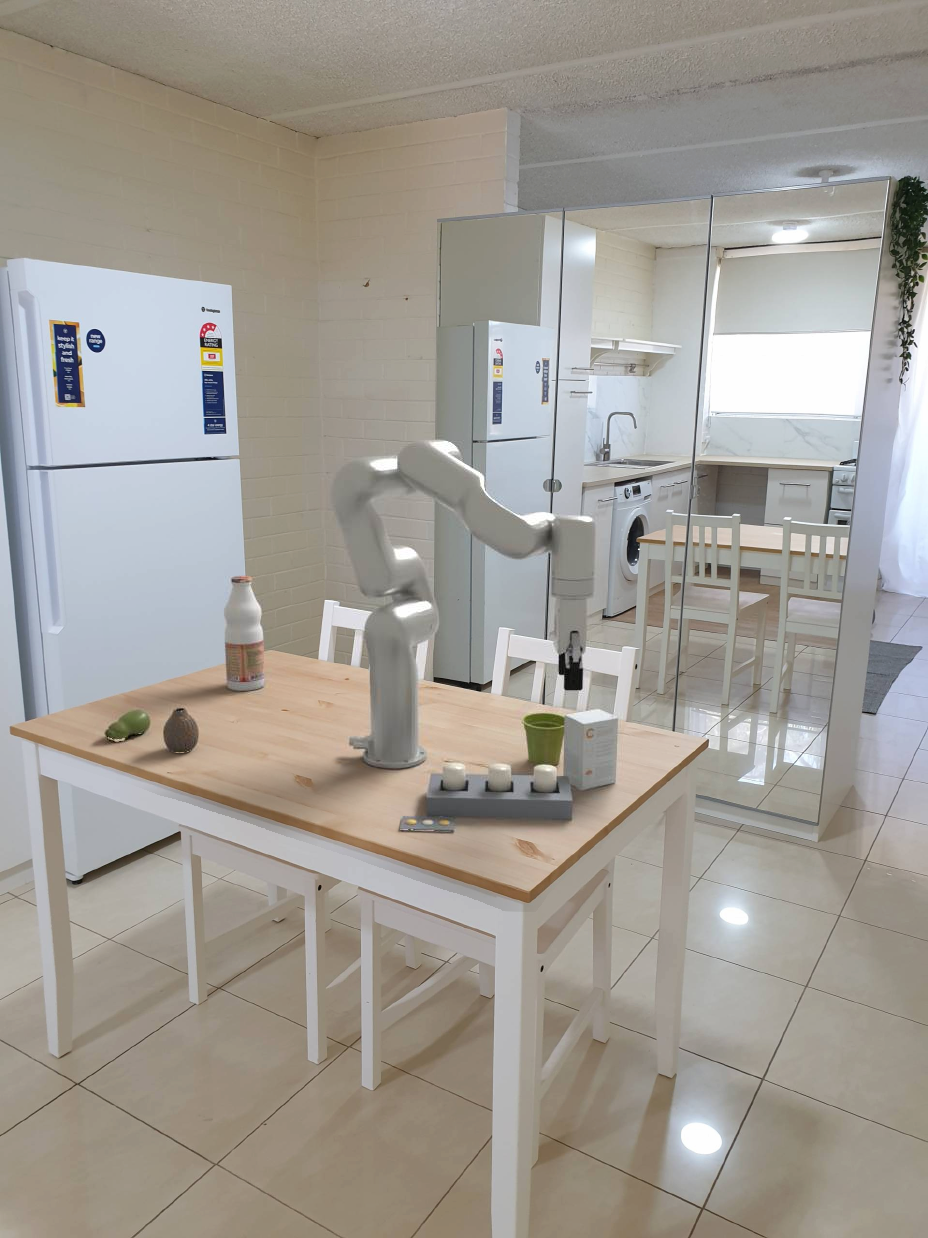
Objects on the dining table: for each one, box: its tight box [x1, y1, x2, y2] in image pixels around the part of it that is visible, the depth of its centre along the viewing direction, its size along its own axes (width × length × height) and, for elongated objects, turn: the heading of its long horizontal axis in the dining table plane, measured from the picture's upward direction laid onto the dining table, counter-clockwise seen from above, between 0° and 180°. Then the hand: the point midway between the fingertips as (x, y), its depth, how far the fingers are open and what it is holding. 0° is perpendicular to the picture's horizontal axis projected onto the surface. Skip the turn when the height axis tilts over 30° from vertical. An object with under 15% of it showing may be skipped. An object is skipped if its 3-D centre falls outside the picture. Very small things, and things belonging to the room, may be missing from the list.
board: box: [425, 772, 574, 821], centre depth 167 cm, size 25×11×4 cm, turn 88°
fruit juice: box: [223, 575, 266, 692], centre depth 235 cm, size 9×9×28 cm
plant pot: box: [521, 712, 565, 766], centre depth 187 cm, size 9×9×9 cm
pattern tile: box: [399, 815, 456, 833], centre depth 158 cm, size 9×5×1 cm, turn 88°
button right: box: [533, 765, 558, 792], centre depth 166 cm, size 4×4×4 cm
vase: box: [162, 707, 200, 753], centre depth 192 cm, size 7×7×9 cm
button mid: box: [487, 763, 512, 791], centre depth 166 cm, size 4×4×4 cm
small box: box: [562, 708, 619, 791], centre depth 177 cm, size 8×6×13 cm
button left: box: [442, 762, 467, 790], centre depth 166 cm, size 4×4×4 cm
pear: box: [104, 709, 151, 740], centre depth 200 cm, size 6×5×10 cm
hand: (570, 682), depth 167 cm, fingers open, 9 cm apart
